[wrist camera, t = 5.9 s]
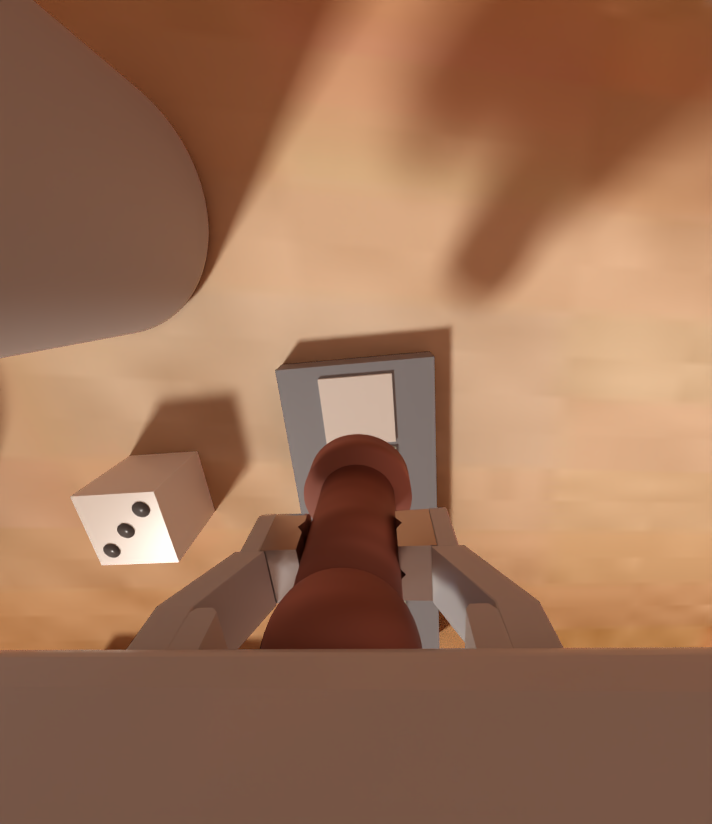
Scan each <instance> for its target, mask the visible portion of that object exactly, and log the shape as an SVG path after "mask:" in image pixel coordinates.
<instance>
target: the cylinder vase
mask: <svg viewBox="0 0 712 824" xmlns="http://www.w3.org/2000/svg"><path fill="white" fill-rule="evenodd" d="M208 241H209V225H208V214H207V207H206V202H205V197H204V193H203V189H202V186H201V182H200V179H199V176H198V174H197V171H196V169H195V166H194V164H193V162H192V159H191V157H190V155H189V153H188V151H187V149H186V148H185V146H184V144H183V142H182V141H181V139H180V137H179V136H178V134H177V133H176V131H175V130H174V128H173V127H172V125H171V124H170V123H169V121H168V120H167V119H166V117H165V116H164V115H163V114H162V113H161V111H160V110H159V109H158V108H157V107H156V106H155V105H154V104H153V103H152V102H151V101H150V100H149V99H148V98H147V97H146V96H145V95H144V94H143V93H142V92H141V91H140V90H139V89H137V88H136V87H135V86H134V85H133V84H132V83H130V82H129V81H128V80H127V79H126V78H124V77H123V76H122V75H121V74H120V73H119V72H117V71H116V70H115V69H114V68H113V67H111V66H110V65H109V64H108V63H107V62H106V61H104V60H103V59H102V58H101V57H100V56H98V55H97V54H96V53H95V52H94V51H93V50H91V49H90V48H89V47H88V46H87V45H85V44H84V43H83V42H82V41H81V40H80V39H78V38H77V37H76V36H75V35H74V34H72V33H71V32H70V31H69V30H68V29H67V28H65V27H64V26H63V25H62V24H61V23H59V22H58V21H57V20H56V19H55V18H54V17H52V16H51V15H50V14H49V13H48V12H47V11H45V10H44V9H43V8H42V7H41V6H39V5H38V4H37V3H36V2H35V1H34V0H0V358H4V357H10V356H15V355H20V354H26V353H31V352H36V351H42V350H47V349H52V348H58V347H63V346H68V345H74V344H79V343H84V342H90V341H95V340H101V339H106V338H111V337H117V336H122V335H127V334H133V333H138V332H142V331H145V330H148V329H151V328H154V327H156V326H158V325H160V324H162V323H164V322H165V321H167V320H168V319H170V318H171V317H172V316H174V315H175V314H176V313H177V312H178V311H179V310H180V309H181V308H182V307H183V306H184V305H185V304H186V303H187V301H188V300H189V299H190V297H191V296H192V294H193V293H194V291H195V289H196V287H197V285H198V283H199V281H200V278H201V276H202V273H203V270H204V266H205V262H206V258H207V251H208Z"/></svg>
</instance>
